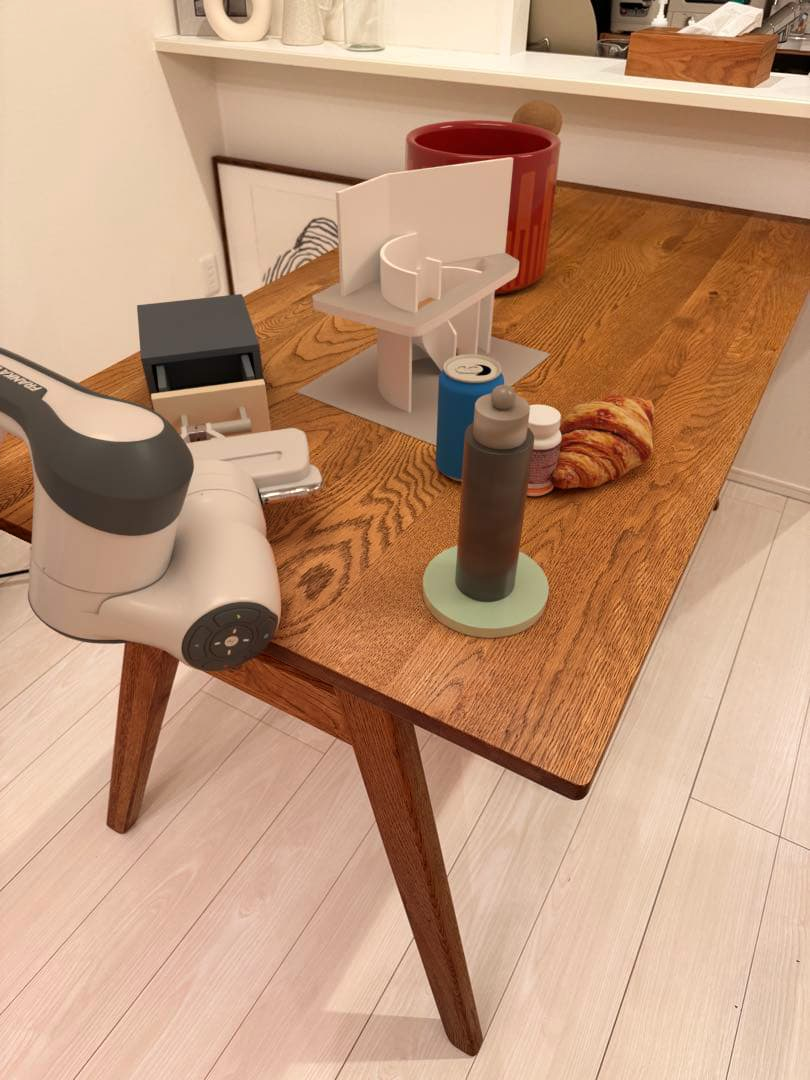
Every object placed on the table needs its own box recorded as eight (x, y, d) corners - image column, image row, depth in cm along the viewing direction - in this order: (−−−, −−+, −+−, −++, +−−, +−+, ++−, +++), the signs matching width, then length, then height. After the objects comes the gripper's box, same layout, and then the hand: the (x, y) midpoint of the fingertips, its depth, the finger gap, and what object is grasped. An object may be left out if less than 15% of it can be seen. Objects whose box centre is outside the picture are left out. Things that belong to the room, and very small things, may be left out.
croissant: (616, 434, 94) (598, 373, 91) (695, 424, 87) (679, 357, 84) (528, 515, 81) (504, 446, 78) (613, 511, 74) (591, 435, 71)
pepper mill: (467, 607, 64) (483, 409, 52) (447, 567, 68) (458, 374, 56) (524, 595, 65) (553, 398, 53) (501, 557, 69) (523, 365, 57)
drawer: (278, 460, 81) (271, 403, 77) (166, 477, 79) (153, 419, 74) (254, 382, 95) (247, 330, 90) (158, 395, 92) (146, 342, 88)
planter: (453, 239, 138) (459, 113, 125) (568, 267, 128) (588, 133, 115) (376, 277, 124) (373, 140, 111) (499, 312, 113) (512, 165, 100)
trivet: (446, 650, 62) (446, 640, 61) (407, 564, 70) (407, 554, 69) (568, 622, 65) (570, 612, 64) (517, 542, 73) (518, 532, 72)
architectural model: (436, 446, 85) (445, 232, 70) (295, 391, 95) (275, 192, 80) (551, 354, 103) (577, 166, 88) (422, 315, 112) (426, 140, 97)
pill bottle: (562, 481, 80) (573, 411, 75) (539, 503, 77) (550, 432, 72) (523, 465, 82) (531, 397, 77) (499, 486, 79) (506, 416, 74)
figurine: (551, 213, 150) (565, 97, 137) (549, 224, 144) (564, 105, 132) (505, 210, 151) (515, 95, 138) (502, 221, 146) (512, 103, 133)
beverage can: (497, 486, 80) (508, 383, 72) (435, 485, 80) (439, 382, 72) (493, 452, 85) (502, 352, 77) (434, 451, 85) (438, 351, 77)
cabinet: (267, 412, 91) (259, 343, 85) (157, 428, 88) (140, 358, 82) (250, 357, 102) (242, 293, 96) (151, 370, 99) (136, 304, 93)
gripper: (325, 463, 67) (296, 388, 77) (78, 502, 62) (83, 417, 72) (329, 519, 71) (301, 441, 81) (98, 560, 66) (99, 472, 76)
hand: (197, 430), depth 77 cm, fingers closed, pressing on drawer
